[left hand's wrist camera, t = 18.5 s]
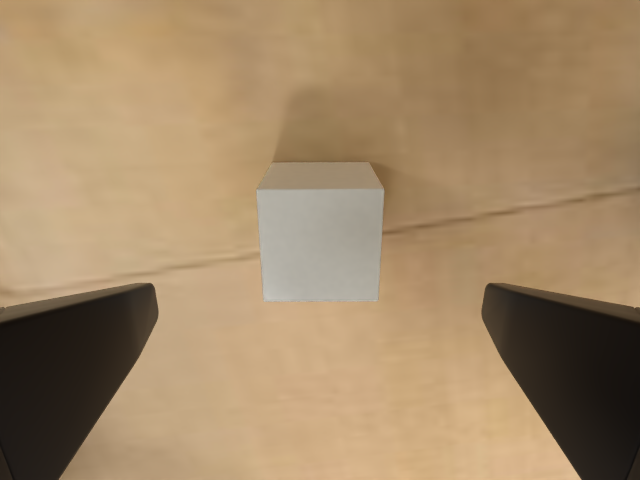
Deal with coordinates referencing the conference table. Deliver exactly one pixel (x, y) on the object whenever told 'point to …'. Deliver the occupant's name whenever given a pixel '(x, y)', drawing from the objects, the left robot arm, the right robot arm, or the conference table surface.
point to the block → (320, 231)
